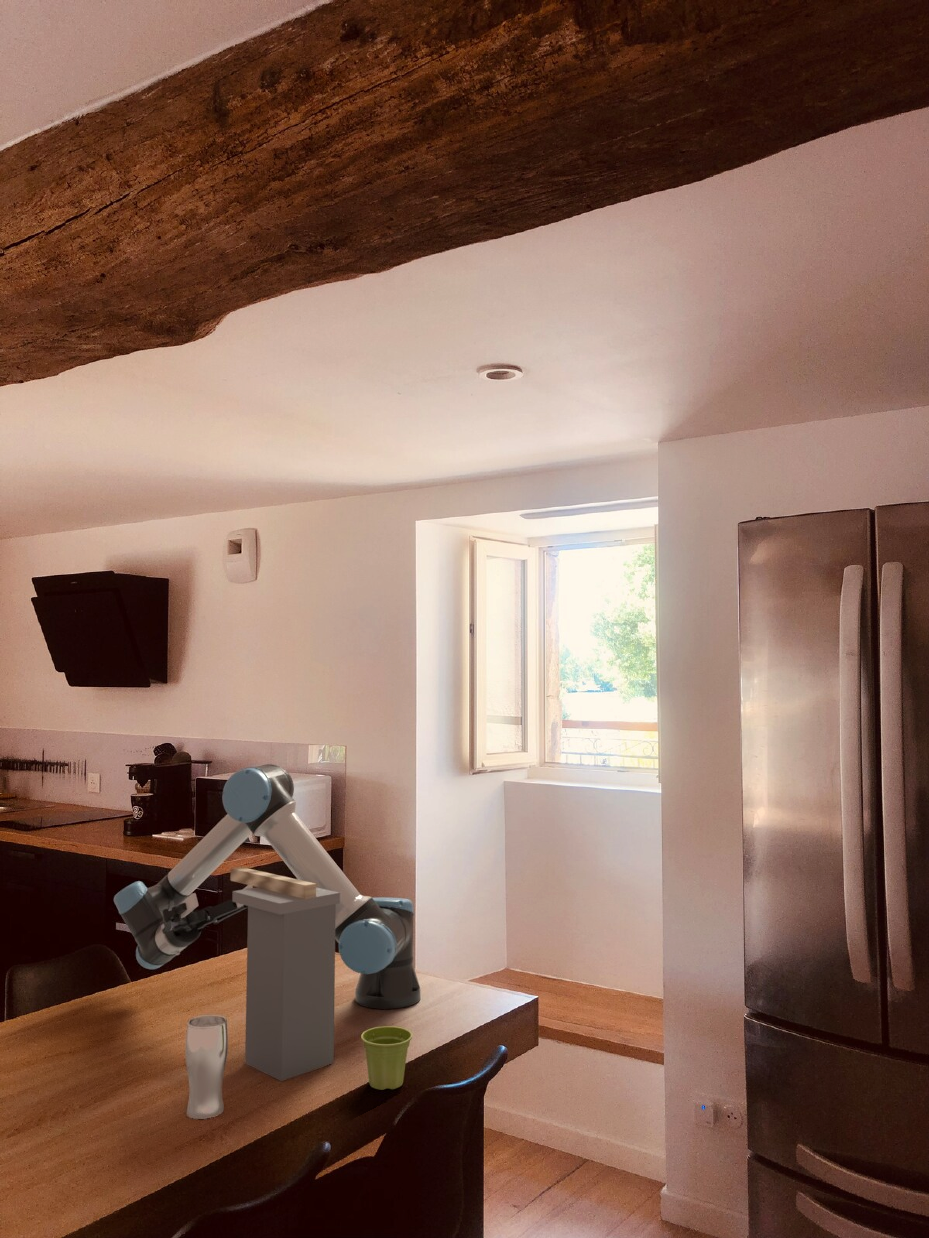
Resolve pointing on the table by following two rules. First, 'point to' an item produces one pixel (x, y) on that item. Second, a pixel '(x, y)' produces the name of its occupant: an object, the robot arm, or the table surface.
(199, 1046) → the beer glass
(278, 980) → the grey stand
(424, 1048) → the table surface
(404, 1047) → the plant pot
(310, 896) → the wooden bar
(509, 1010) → the table surface
